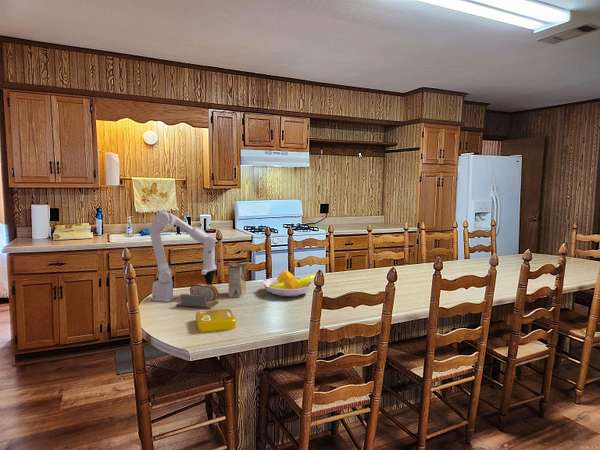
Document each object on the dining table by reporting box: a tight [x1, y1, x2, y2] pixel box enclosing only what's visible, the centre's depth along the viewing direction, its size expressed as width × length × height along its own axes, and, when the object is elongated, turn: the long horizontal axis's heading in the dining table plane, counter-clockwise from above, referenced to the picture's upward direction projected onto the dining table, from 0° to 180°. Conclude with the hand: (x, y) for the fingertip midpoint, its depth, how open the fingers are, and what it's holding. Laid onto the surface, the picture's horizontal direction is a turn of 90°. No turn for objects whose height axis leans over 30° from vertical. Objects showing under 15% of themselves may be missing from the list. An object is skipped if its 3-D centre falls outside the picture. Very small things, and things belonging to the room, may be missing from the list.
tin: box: [189, 282, 219, 301], centre depth 198 cm, size 15×3×8 cm, turn 71°
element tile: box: [195, 308, 236, 333], centre depth 166 cm, size 15×15×5 cm
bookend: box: [180, 293, 206, 310], centre depth 187 cm, size 12×1×6 cm, turn 80°
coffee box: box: [228, 262, 247, 299], centre depth 208 cm, size 9×6×16 cm
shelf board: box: [175, 300, 219, 311], centre depth 191 cm, size 17×10×1 cm, turn 80°
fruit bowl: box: [262, 270, 317, 297], centre depth 213 cm, size 28×27×11 cm
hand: (209, 285), depth 204 cm, fingers closed
